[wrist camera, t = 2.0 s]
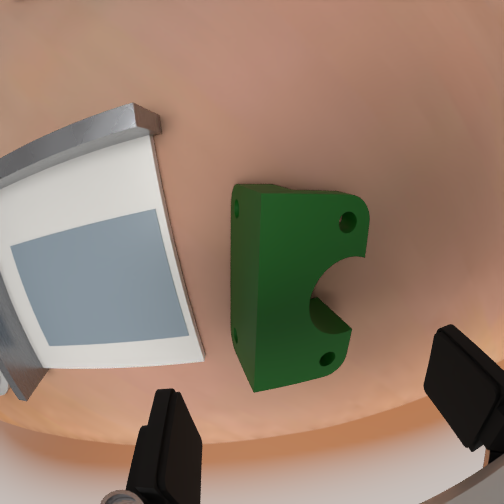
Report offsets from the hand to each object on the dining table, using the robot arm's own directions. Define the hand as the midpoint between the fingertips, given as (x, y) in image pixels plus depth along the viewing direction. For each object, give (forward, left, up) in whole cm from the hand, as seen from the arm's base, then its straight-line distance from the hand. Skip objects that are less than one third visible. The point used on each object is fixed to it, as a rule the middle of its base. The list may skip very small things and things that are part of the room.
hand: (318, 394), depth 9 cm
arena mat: (+14, -2, -11) cm, 18 cm away
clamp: (-1, 0, -12) cm, 12 cm away
